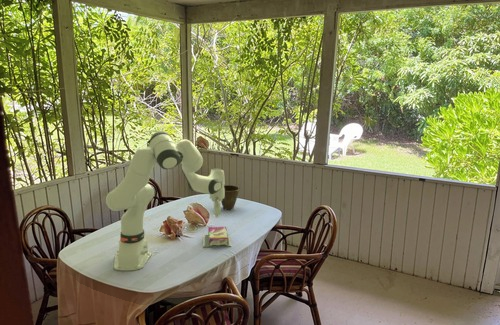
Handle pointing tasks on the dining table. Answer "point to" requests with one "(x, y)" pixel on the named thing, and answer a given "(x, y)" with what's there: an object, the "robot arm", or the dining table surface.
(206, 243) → the mat
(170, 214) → the dining table surface
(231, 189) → the plant pot
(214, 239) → the candy bar box
